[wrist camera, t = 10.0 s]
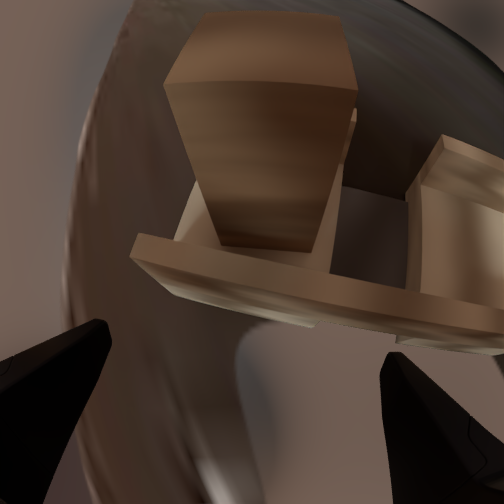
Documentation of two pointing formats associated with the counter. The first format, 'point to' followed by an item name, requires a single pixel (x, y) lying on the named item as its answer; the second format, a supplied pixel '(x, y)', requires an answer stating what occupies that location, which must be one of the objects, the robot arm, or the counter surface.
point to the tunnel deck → (365, 258)
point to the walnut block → (264, 121)
